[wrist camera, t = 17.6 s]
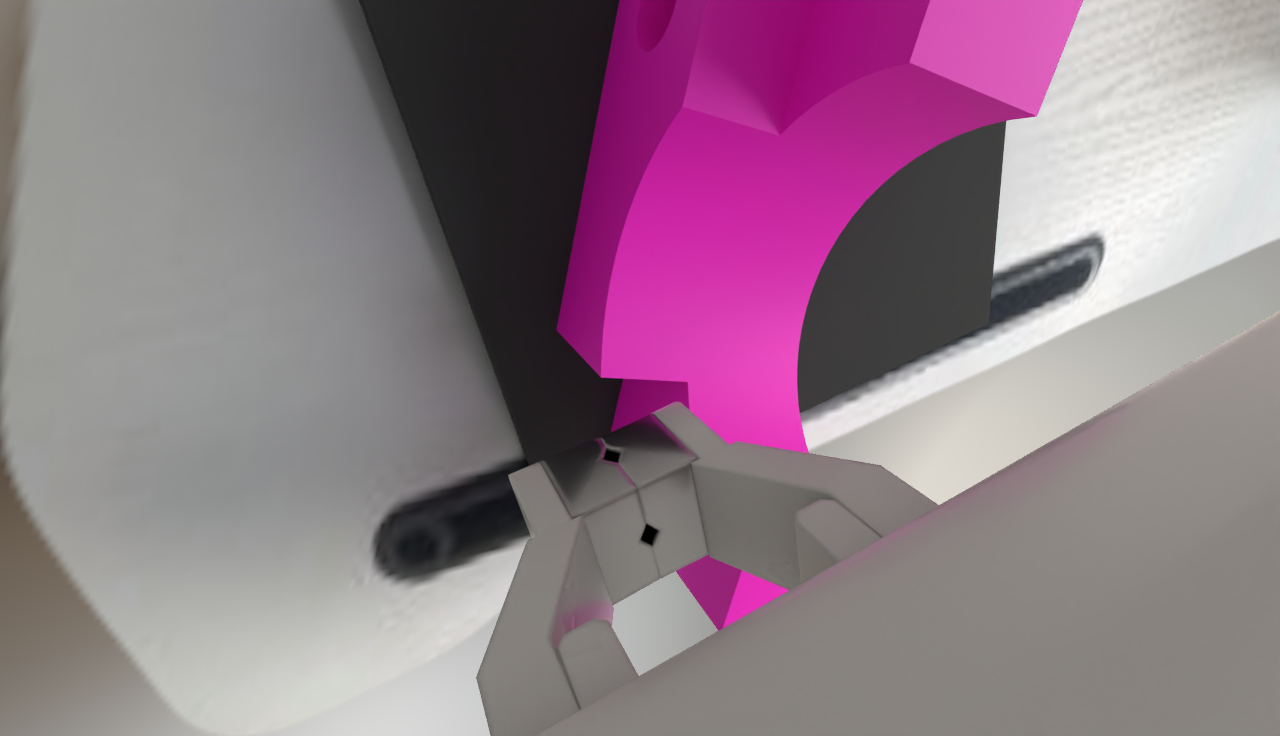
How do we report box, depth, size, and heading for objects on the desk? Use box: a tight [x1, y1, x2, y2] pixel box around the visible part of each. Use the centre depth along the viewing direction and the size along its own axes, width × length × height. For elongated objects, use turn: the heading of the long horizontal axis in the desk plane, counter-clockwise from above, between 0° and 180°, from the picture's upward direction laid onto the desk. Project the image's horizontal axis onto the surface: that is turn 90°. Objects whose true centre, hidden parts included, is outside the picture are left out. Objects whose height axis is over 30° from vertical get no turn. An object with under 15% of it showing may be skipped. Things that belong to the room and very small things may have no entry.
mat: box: [359, 0, 1006, 466], centre depth 20 cm, size 20×16×1 cm
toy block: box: [557, 0, 1083, 631], centre depth 16 cm, size 15×6×8 cm, turn 167°
